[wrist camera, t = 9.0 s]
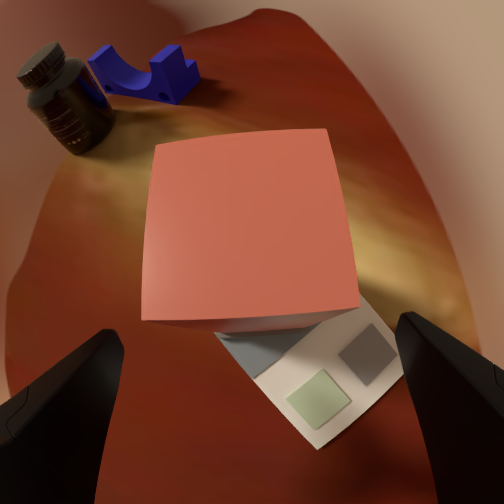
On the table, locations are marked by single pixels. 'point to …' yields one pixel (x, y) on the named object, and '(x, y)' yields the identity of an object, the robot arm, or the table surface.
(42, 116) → the supplement bottle
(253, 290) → the salmon block on plinth
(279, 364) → the panel board
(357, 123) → the table surface
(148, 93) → the blue cradle bracket
